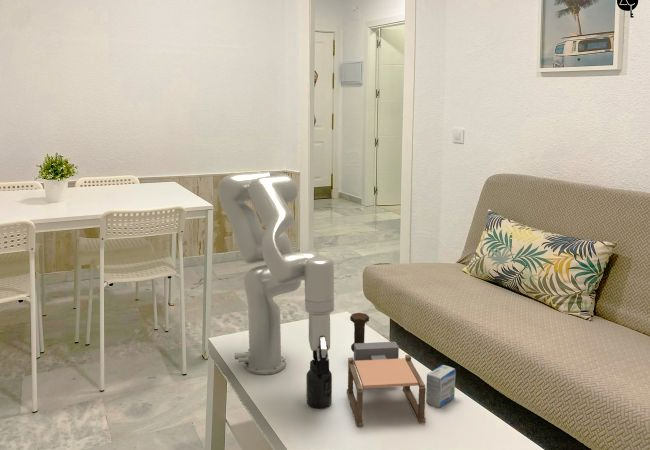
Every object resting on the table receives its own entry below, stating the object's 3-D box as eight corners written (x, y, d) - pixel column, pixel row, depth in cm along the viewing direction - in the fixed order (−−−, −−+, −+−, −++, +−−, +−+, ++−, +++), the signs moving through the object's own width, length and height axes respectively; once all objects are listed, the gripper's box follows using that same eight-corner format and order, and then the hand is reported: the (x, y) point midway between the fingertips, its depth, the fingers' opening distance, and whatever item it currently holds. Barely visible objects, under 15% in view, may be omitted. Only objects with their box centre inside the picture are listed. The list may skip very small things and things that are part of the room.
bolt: (368, 357, 188) (369, 313, 185) (368, 365, 183) (368, 319, 180) (350, 357, 189) (350, 312, 186) (349, 364, 184) (349, 318, 181)
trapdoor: (363, 395, 150) (363, 378, 149) (350, 358, 170) (350, 343, 169) (417, 392, 152) (418, 375, 151) (398, 356, 172) (398, 341, 171)
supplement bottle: (327, 395, 165) (327, 355, 163) (335, 407, 159) (335, 366, 156) (303, 398, 164) (303, 358, 161) (310, 411, 157) (310, 369, 154)
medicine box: (439, 408, 159) (441, 378, 157) (425, 402, 162) (426, 373, 160) (454, 397, 164) (456, 368, 163) (440, 392, 167) (442, 363, 165)
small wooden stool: (356, 426, 150) (357, 386, 148) (346, 393, 167) (347, 356, 164) (425, 422, 152) (426, 383, 149) (408, 389, 169) (409, 353, 166)
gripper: (302, 294, 163) (304, 353, 166) (308, 316, 146) (309, 381, 149) (329, 293, 164) (330, 352, 167) (338, 315, 147) (339, 379, 150)
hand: (320, 366), depth 158 cm, fingers open, 9 cm apart
